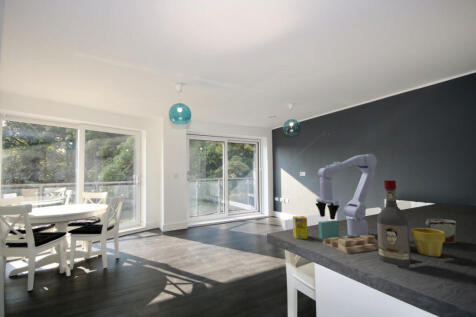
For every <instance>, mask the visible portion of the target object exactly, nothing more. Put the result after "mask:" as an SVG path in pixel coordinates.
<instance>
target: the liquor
mask: <svg viewBox="0 0 476 317" xmlns="http://www.w3.org/2000/svg"><path fill="white" fill-rule="evenodd" d="M383 184H384V186H383V187H384V190H385V206H384V207H383V208H382V209H381V210H382V211H381V210H380V212H379V213H378V214H377V216H376V224H377V225H376V228H377V243H378V247H379V249H378V260H379V261H382V262H383V263H387V264H391V265H397V266H395V268H400V269H407V268H408V269H409V267H410V266H411V261H412V259H411V245H410V244H411V243H410V230H409V218H408V216H407V214H406V215H405V214H404V213H405V212H403V210H401V209H400V208H399V207H398V203H397V196H396V195H397V194H396V193H397V192H396V190H397V183H396V180H388V179H387V180H386V179H385V180H383Z"/></svg>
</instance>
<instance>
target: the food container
mask: <svg viewBox="0 0 476 317" xmlns="http://www.w3.org/2000/svg"><path fill="white" fill-rule="evenodd" d="M457 224H458V223H457V221H456V220H452V219H444V218H428V219H427V218H426V221H425V225H426V226H427V228H428V229H435V230H440V231H443V232H444V234H445V241H444V242H443V244H455V243H456V226H458V225H457Z"/></svg>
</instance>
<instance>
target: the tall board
mask: <svg viewBox="0 0 476 317" xmlns="http://www.w3.org/2000/svg"><path fill="white" fill-rule="evenodd" d="M317 225H318V238H320V239H326V238H335V237H340V233H339V231H340V230H339V221H338V220H335V219H332V220H324V221H318V224H317Z"/></svg>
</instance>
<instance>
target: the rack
mask: <svg viewBox="0 0 476 317" xmlns="http://www.w3.org/2000/svg"><path fill="white" fill-rule="evenodd" d="M341 238H348V239H351V238H358V236H356V235H352V236H351V235H344V236H339V237H331V238H323V242H321V243H323V244H325V245H327V246H329V247H331V248H334V249H337V250H338V251H341V252H343V253H345V254H348V255H349V254H357V253H362V252H363V253H364V252H369V251H377V250H378V251H379V247H378V242H375V243H374V244H367V245H359V246H352V247H345V251H343V250H341V249H338V239H341Z"/></svg>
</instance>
